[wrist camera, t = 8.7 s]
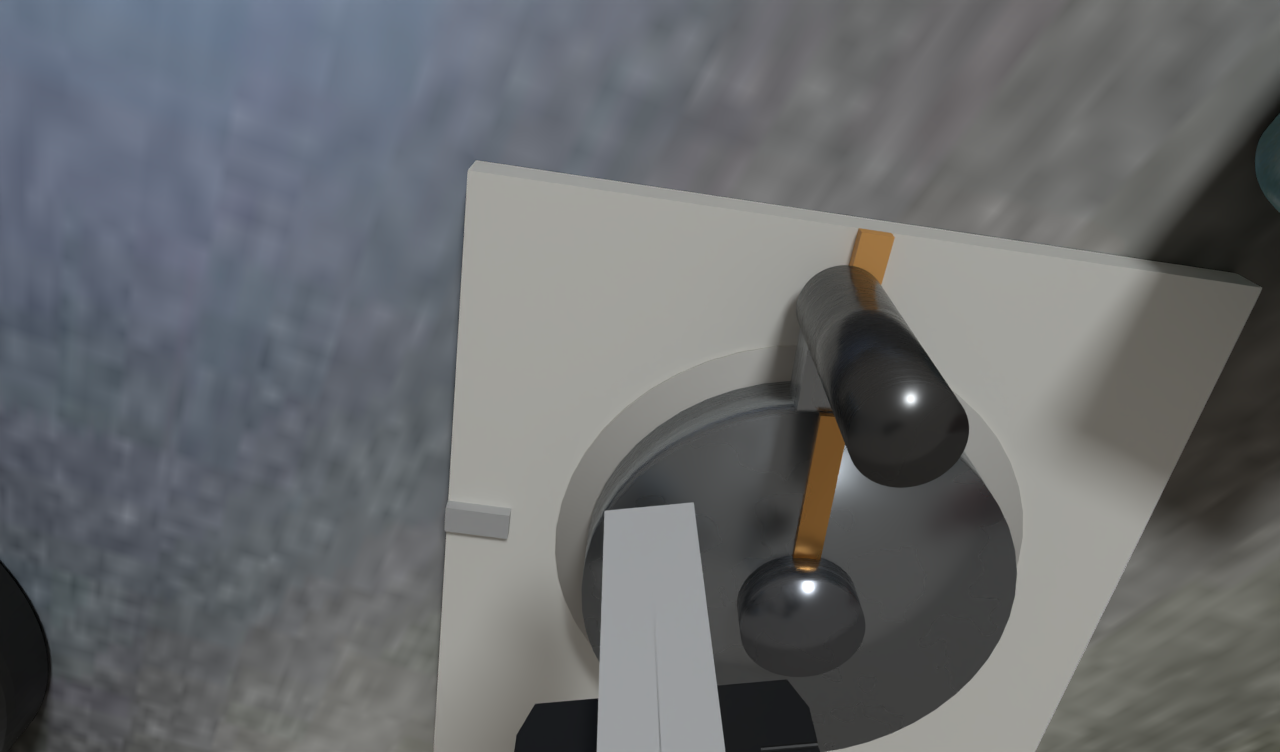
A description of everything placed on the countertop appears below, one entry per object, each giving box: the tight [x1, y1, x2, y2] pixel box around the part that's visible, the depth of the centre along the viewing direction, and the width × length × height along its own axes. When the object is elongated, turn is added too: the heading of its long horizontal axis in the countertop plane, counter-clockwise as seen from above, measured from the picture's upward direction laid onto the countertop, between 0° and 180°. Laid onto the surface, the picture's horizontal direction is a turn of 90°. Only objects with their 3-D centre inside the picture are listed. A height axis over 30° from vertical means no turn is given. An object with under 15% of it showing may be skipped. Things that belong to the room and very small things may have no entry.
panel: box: [434, 160, 1262, 752], centre depth 29 cm, size 22×22×2 cm
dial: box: [581, 265, 1017, 752], centre depth 24 cm, size 17×13×8 cm
